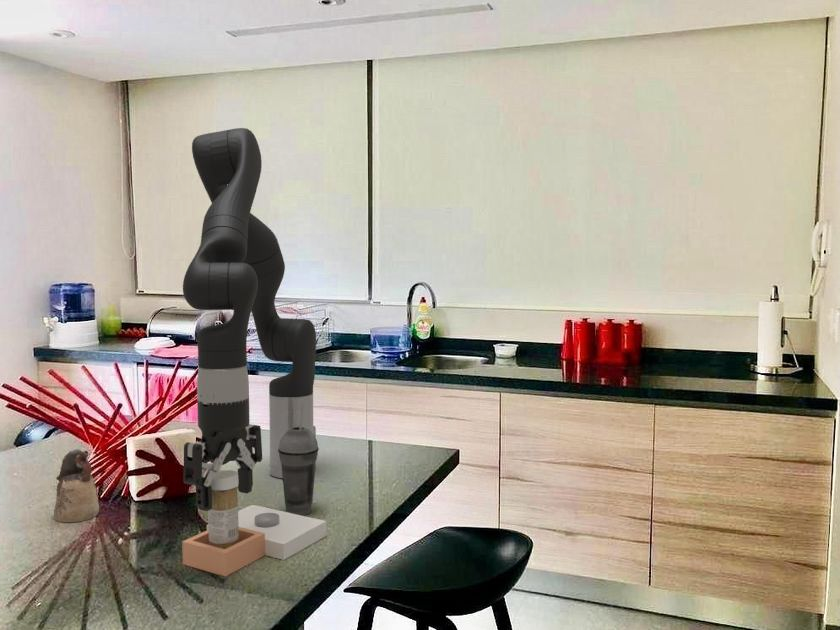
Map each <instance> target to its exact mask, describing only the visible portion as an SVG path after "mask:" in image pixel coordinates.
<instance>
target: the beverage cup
mask: <svg viewBox="0 0 840 630" xmlns="http://www.w3.org/2000/svg"><path fill="white" fill-rule="evenodd" d="M302 421H303V404H301V407H300V422H299V427H294V428H292V429H290V430H288V431H287V432H286V433H285V434H284V435H283V436H282V438H281V440H280V444H279V449H278V452H279V457H280V462H281V466H282V477H283V478H282V487H283V496H284V504H285V512H288V513H292V514H297V515H301V516H308V515H309V514H311V513H312V507H313V500H314V487H315V477H316V474H315V473H316V469H315V465H316V466H317V459H318V455H319V454H318V453H319V449H320V448H319V443H318V440H317V437H316V438H315V436H314V434H313V433H312V432H311V431H310V430H308V429H306V428H304V427H302Z"/></svg>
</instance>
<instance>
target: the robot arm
mask: <svg viewBox="0 0 840 630" xmlns="http://www.w3.org/2000/svg"><path fill="white" fill-rule="evenodd" d="M191 154H192V157H193V162H194V165H195V168H196V170H197V173H198V175H199V179H200V180H201V183H202V184H203V187H204V189H205V191H206V193H207V196H208V198H209V200H210V203H211V204H210V205H209V207H208V209H207V211H206V213H205V215H204V217H203V223H202V228H201V236H200V237H201V238H200V245H199V247H198V249H197V252H196V253H195V255H194V257H193V258H192V261H191V262H190V263H189V265H188V267H187V269H186V272H185V274H184V276H183V277H184V278H183V281H182V294H183V297H184V299H185V301H186V303H187V305H189V306H190V308H193V309H195V310H199V311H230V310H231V311H233V314H232V317H231V318H230V319H229V320H228V321H226V322H223V323H219V324H215V325H211V326H210V325H209V326H206V327H204V328H202V329H201V330H200V331H199V332H198V335H197V358H198V359H197V363H198V365H197V366H198V370H197V371H198V372H197V379H196V395H197V397H196V400H197V401H196V402H197V406H196V407H197V426H198V428H199V429H200V431H201V439H200V440H199V441H198V442H188V441H187V442H186V443H184V446H183V469H182V470H183V472H182V473H183V475H182V476H183V477H182V478H183V479H182V482H183V483H184V484H187V485H192V486H195V487H194V488H195V505H196V507H197V508H198V509H199V510H201V511H205V512H208V511H209V510H211V509H212V486H211V485H210V484H211V482H212V479H213V477H214V475H215V473H217V472H218V471H221V470H220V469H221V467H222V466H224V465H226V464H227V463H230V462H234V463H236V465H237V466H238V467H239V468H237V473H238V488H237V491H238V492H240V493H241V494H242V493H243V494H250V493H252V490H253V485H254V484H253V482H254V479H253V478H254V476H253V475H254V473H253V471H254V470H253V469H254V468H255V466H256V464H257V463H261V462H262V460H263V447H262V446H263V443H262V430H261V429H262V427H261V425H258V424H250V422H251V421H250V380H249V372H248V365H247V363H248V357H247V355H248V353H247V352H248V351H247V342H248V341H247V339H248V338H247V336H248V327H249V322H250V317H251V314H252V318H253V322H254V326H255V327H254V328H255V330H256V334H257V338H258V343H259V344H260V345H259V346H260V349H261V351H262V353H263V355H264V357H265V358H266V359H268V360H270V361H274V362H283V363H292V365H291V370H290V372H288V373H287V374H285V375H282V376H279V377H276V378H273V379H272V380H271V381H269V387H268V389H269V390H268V391H269V392H268V395H269V396H268V397H269V399H268V400H269V474H270V476H272V477H274V478H279V479H283V477H282V466H281V462H280V457H279V452H278V449H279V444H280V440H281V438H282V436H283V435H284V434H285V433H286V432H287V431H288V430H290V429H292V428H294V427H299V422H300V407H301V404H303V421H302V427H304V428H306V429H308V430H310V431H311V432H312V433H313V434H314V436H315V438H316V439H317V435H316V433H317V429H316V428H317V427H316V426H315V425H314V383H315V375H316V374H315V373H316V354H317V333H316V329H315V326H314V323H313V322H312V321H311V320H309V319H306V318H289V317H288V318H285V317H284V318H283V317H280V316H279V313H278V312H277V309H276V304H275V303H276V302H275V299H276V297H277V294H278V291H279V289H280V286H281V285H282V281H283V279H284V275H285V271H286V265H285V264H286V263H285V259H284V256H283V253H282V250H281V247H280V244H279V241H278V239H277V236H276V235H275V233H274V232H273V230H272V229H270V227H268V226H267V225H266V224H265V223H264V222H263V221H261V220H260V218H258V217H257V216H255V215H254V214H253V213H251V211H252V207H253V203H254V200H255V196H256V193H257V191H258V190H257V189H258V186H259V182H260V178H261V173H262V166H263V165H262V161H263V160H262V154H261V149H260V146H259V143H258V140H257V138H256V135H254V133H253V131H252V130H251V129H248V128H245V127H239V128H238V127H237V128H230V129H227V130H226V129H225V130H221V131H216V132H215V131H214V132H208V133H203V134H199V135H197V136H195V137H194V139H192V143H191ZM253 450H254V452H253ZM208 461H209V463H208ZM316 469H317V464H316V465H315V470H316Z"/></svg>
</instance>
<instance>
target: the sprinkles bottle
mask: <svg viewBox="0 0 840 630" xmlns="http://www.w3.org/2000/svg"><path fill="white" fill-rule="evenodd" d="M210 485H211V486H212V509H211V510H209V511H207V513H208V519H207V520H208V522H207V523H208V524H209V545H211V546H214V547H218V548H222V549H227V548H229V547H231V546H233V545H235V544H237V543H238V537H239V530H238V511H239V504H238V503H239V502H238V499H239V498H238V471H237V472H236V471H235V470H227V469H224V470H219V471H218V472H217V473H215V475H214V477H213V479H212V482H211V484H210Z"/></svg>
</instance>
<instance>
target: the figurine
mask: <svg viewBox="0 0 840 630" xmlns="http://www.w3.org/2000/svg"><path fill="white" fill-rule="evenodd" d="M89 455H90V454H89V451H88V450H83V451H82V450H80V449H79V448H77V449H72V450H70V451H69V452H68V453H67V454H65V455H64V457H63V458H62V462H61V465H60V468H59V469H60V470H59V474H58V475H57V476H56V479H55V480H57V481H58V482H57V486H56V497H55V498H56V500H55V506H54V508H53V509H54V510H53V518H54V521H56V522H58V523H59V522H60V523H78V522H83V521H86V520H90V519H93V518H95V517H96V516H97V515H98V514H99V512H100V503H99V496H98V492H97V487H96V483H95V480H94V477H93V475H92V465H91V462H90V461H89V460H88V457H89Z"/></svg>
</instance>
